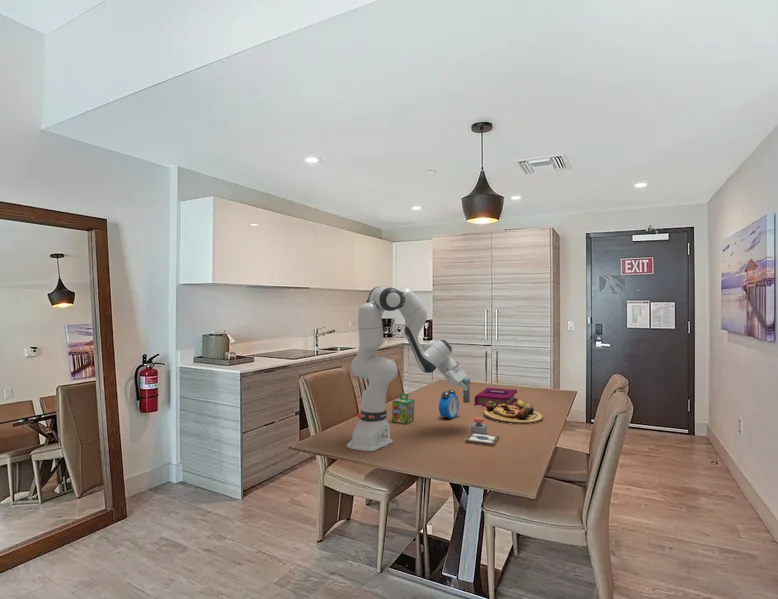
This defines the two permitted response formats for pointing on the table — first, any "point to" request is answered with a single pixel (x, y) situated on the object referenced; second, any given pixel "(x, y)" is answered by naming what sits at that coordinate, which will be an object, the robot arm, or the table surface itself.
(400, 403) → the chalk box
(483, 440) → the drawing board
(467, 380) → the joystick
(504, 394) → the book
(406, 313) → the robot arm
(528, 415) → the wooden plate with food
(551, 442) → the table surface
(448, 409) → the alarm clock
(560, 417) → the table surface
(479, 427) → the button box
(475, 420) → the button
